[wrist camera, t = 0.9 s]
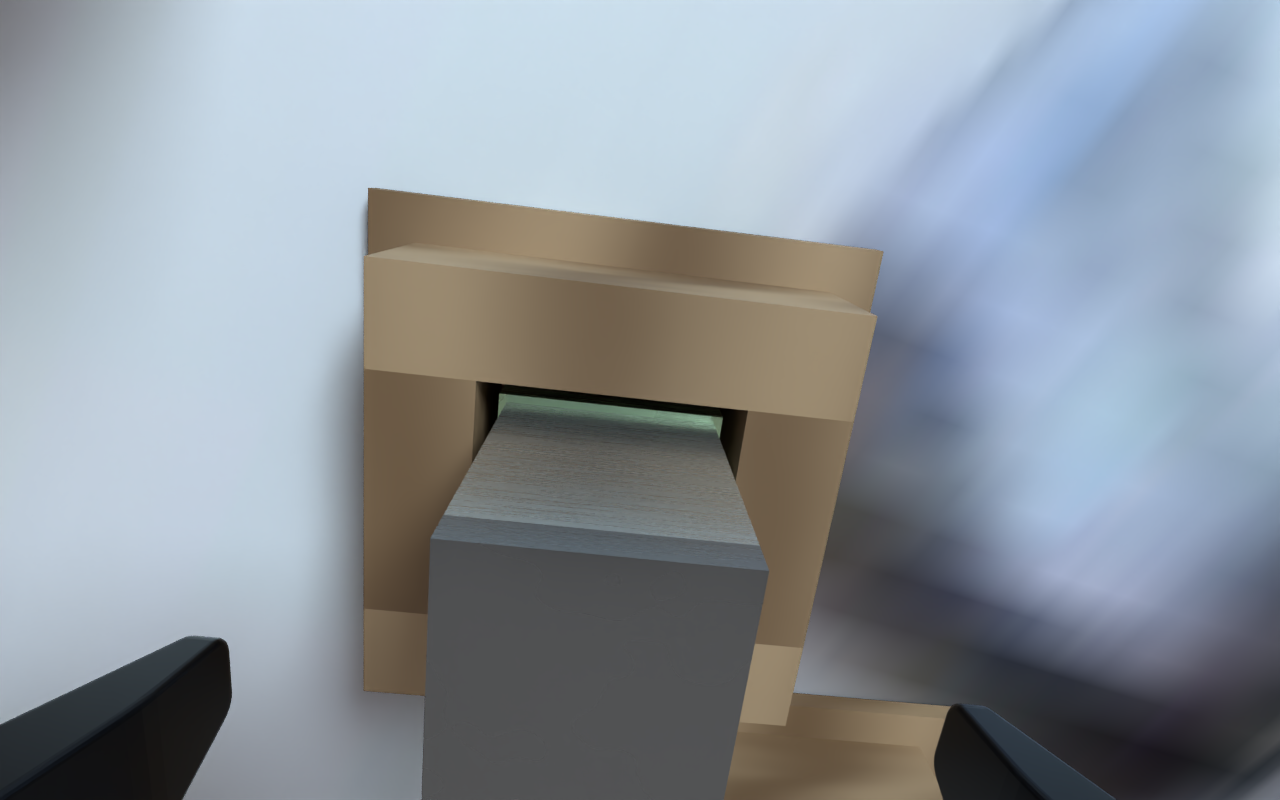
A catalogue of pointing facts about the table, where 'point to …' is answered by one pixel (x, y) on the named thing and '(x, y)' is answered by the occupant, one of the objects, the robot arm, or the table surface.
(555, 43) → the table surface
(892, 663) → the table surface
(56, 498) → the table surface
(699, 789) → the marked post
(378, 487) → the marked collar
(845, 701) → the wooden square base
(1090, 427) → the table surface
